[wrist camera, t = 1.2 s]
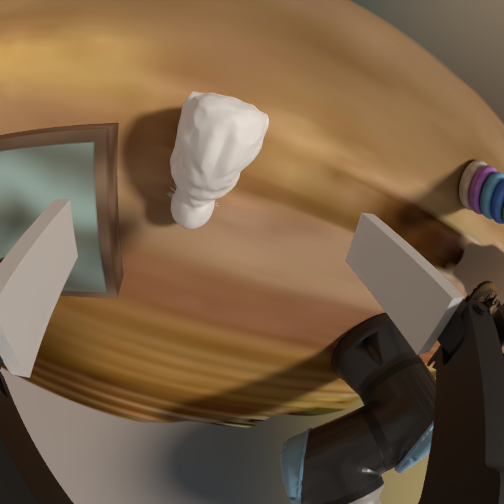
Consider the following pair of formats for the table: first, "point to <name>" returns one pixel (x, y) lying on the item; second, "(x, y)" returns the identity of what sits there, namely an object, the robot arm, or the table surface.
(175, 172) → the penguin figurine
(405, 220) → the table surface
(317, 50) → the table surface
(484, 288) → the owl figurine
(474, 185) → the stacking toy
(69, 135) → the square wooden tray
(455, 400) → the robot arm
